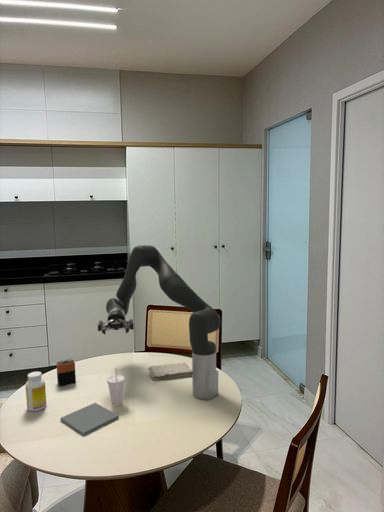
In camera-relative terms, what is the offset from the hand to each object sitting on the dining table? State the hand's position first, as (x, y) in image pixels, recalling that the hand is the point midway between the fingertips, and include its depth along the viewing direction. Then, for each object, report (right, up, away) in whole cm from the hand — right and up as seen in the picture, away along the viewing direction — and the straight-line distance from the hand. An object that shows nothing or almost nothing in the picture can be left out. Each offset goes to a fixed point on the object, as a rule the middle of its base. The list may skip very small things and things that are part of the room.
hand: (115, 331), depth 154 cm
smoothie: (+2, -26, -7) cm, 27 cm away
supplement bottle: (-27, -26, -9) cm, 39 cm away
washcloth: (+20, -23, +19) cm, 36 cm away
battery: (-22, -24, +11) cm, 34 cm away
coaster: (-5, -27, -18) cm, 33 cm away
